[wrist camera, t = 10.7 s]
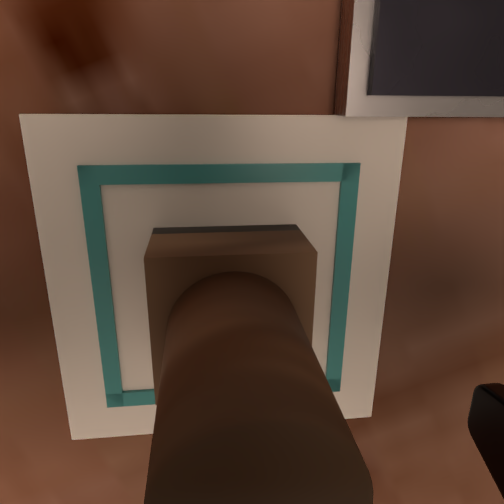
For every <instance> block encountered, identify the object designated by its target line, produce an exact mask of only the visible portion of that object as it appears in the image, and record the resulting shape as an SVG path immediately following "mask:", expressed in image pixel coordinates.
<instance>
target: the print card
mask: <svg viewBox="0 0 504 504" xmlns="http://www.w3.org/2000/svg"><path fill="white" fill-rule="evenodd" d="M19 119H20V125H21V131H22V137H23V143H24V149H25V156H26V162H27V168H28V174H29V180H30V186H31V192H32V199H33V205H34V211H35V217H36V223H37V229H38V235H39V241H40V248H41V254H42V260H43V266H44V272H45V278H46V284H47V291H48V297H49V303H50V309H51V315H52V321H53V327H54V333H55V340H56V346H57V352H58V358H59V364H60V370H61V376H62V383H63V389H64V395H65V401H66V407H67V413H68V419H69V426H70V432H71V438H72V440H79V439H91V438H104V437H117V436H130V435H143V434H153V430H154V422H155V415H156V407H157V405H155V394H154V381H153V369H152V356H151V344H150V332H149V319H148V307H147V294H146V282H145V270H144V255H145V252H146V249H147V246H148V243H149V240H150V237H151V234H152V231H153V228H164V227H203V226H242V225H281V224H296V225H297V226H298V227H299V229H300V230H301V231H302V232H303V234H304V235H305V236H306V238H307V239H308V240H309V242H310V243H311V244H312V245H313V247H314V248H315V249H316V251H317V252H318V255H317V272H316V288H315V304H314V321H313V337H312V348H313V350H314V352H315V355H316V357H317V359H318V361H319V363H320V366H321V368H322V370H323V372H324V374H325V376H326V379H327V381H328V383H329V385H330V387H331V390H332V392H333V394H334V396H335V398H336V401H337V403H338V405H339V407H340V409H341V411H342V414H343V416H344V418H345V419H350V418H363V417H371V415H372V406H373V398H374V390H375V382H376V373H377V365H378V357H379V349H380V341H381V332H382V324H383V316H384V308H385V300H386V291H387V283H388V275H389V267H390V258H391V250H392V242H393V234H394V226H395V217H396V209H397V201H398V193H399V185H400V176H401V168H402V160H403V152H404V143H405V135H406V127H407V119H408V117H345V116H338V115H225V114H19Z"/></svg>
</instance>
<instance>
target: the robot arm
mask: <svg viewBox="0 0 504 504" xmlns="http://www.w3.org/2000/svg"><path fill="white" fill-rule="evenodd" d="M468 428H469V431H470V434H471V436H472V438H473V440H474V442H475V444H476V446H477V448H478V450H479V452H480V454H481V456H482V458H483V460H484V461H485V463H486V465H487V467H488V469H489V471H490V473H491V475H492V477H493V479H494V481H495V483H496V485H497V487H498V489H499V491H500V493H501V495H502V496H503V498H504V385H503V384H500V383H490V384H480V385H478V386H477V387H476V388H475V389H474V393H473V397H472V402H471V407H470V412H469V416H468Z"/></svg>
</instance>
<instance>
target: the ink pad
mask: <svg viewBox="0 0 504 504" xmlns="http://www.w3.org/2000/svg"><path fill="white" fill-rule="evenodd" d="M334 115H338V116H345V117H504V0H342V3H341V18H340V32H339V47H338V62H337V77H336V92H335V106H334Z"/></svg>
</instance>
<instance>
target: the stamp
mask: <svg viewBox="0 0 504 504" xmlns="http://www.w3.org/2000/svg"><path fill="white" fill-rule="evenodd" d="M317 255H318V252H317V251H316V249H315V248H314V247H313V245H312V244H311V243H310V242H309V240H308V239H307V238H306V236H305V235H304V234H303V232H302V231H301V230H300V229H299V227H298V226H297V225H296V224H281V225H242V226H203V227H164V228H153V231H152V234H151V237H150V240H149V243H148V246H147V249H146V252H145V255H144V270H145V282H146V294H147V307H148V319H149V332H150V344H151V356H152V369H153V381H154V394H155V405H157V407H156V415H155V422H154V430H153V438H152V445H151V453H150V461H149V468H148V476H147V484H146V491H145V499H144V504H373V486H372V480H371V477H370V474H369V470H368V468H367V466H366V464H365V462H364V460H363V457H362V455H361V453H360V451H359V449H358V446H357V444H356V442H355V440H354V438H353V435H352V433H351V431H350V429H349V427H348V425H347V422H346V420H345V418H344V416H343V414H342V411H341V409H340V407H339V405H338V403H337V401H336V398H335V396H334V394H333V392H332V390H331V387H330V385H329V383H328V381H327V379H326V376H325V374H324V372H323V370H322V368H321V366H320V363H319V361H318V359H317V357H316V355H315V352H314V350H313V348H312V337H313V321H314V304H315V288H316V272H317Z"/></svg>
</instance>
